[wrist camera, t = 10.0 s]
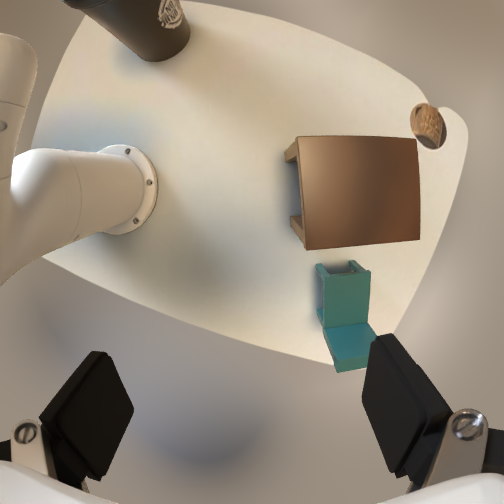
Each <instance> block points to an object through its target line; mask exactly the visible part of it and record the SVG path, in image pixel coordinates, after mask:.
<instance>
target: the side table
mask: <svg viewBox="0 0 504 504" xmlns="http://www.w3.org/2000/svg"><path fill="white" fill-rule="evenodd" d="M284 153H285V162H295V161H298V171H299V183H300V195H301V208H302V216H301V215H298V216H290V222H291V227H292V229H293V230H294V232H295V233H296V234H297V236H298V237H299V239H300V240H301V241H302V243H303V244H304V248H305V249H306V250H307V251H308V250H318V249H329V248H340V247H350V246H361V245H371V244H382V243H392V242H403V241H413V240H420V177H419V162H418V151H417V141H416V139H411V138H398V137H381V136H299V137H297V138H296V139H295V142H294V143H293V144H292V145H291V146H290V147H289V148H288V149H287V150H286V151H285V152H284Z"/></svg>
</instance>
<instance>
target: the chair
mask: <svg viewBox="0 0 504 504" xmlns="http://www.w3.org/2000/svg"><path fill="white" fill-rule="evenodd" d="M349 266H350V267H351V268H352V269H353V270H354V271H355V272H347V273H338V274H329V273H328V272H327V270H326V269H325V268H324V266H323V265H322V264H316V269H317V271H318V273H319V274H320V276H321V277H322V279H323V309H322V308H319V309H317V315H318V317H319V319H320V322H321V324H322V327H323V334H324V338H325V341H326V343H327V346H328V348H329V351H330V353H331V356H332V358H333V361H334V366H335V369H336V371H337V373H339V372H345V371H350V370H356V369H361V368H366V367H367V364H368V358H369V351H370V344H371V342H372V341H375V338H376V337H377V335H376V334H375V332H374V331H373V329H372V328H371V327H370V325H369V324H368V323H367V321H368V310H369V297H370V281H371V272H370V271H369V270H365V269H364V268H363V267H361V266H360V265H359V264H358V263H357V262H356V261H355V260H351V261H349Z"/></svg>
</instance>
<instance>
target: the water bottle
mask: <svg viewBox="0 0 504 504" xmlns="http://www.w3.org/2000/svg"><path fill="white" fill-rule="evenodd" d="M62 1H63V2H64V3H66V4H67V5H68V6H70V7H72V8H75V9H79V10H81V11H83V12H84V13H85V14H87V15H88V16H89V17H91V18H92V19H93V20H95V21H96V22H97V23H98V24H100V25H101V26H102V27H104V28H105V29H106V30H107V31H109V32H110V33H111V34H113V35H114V36H115V37H116V38H117V39H119V40H120V41H121V42H122V43H124V44H125V45H126V46H127V47H128V48H130V49H131V50H132V51H133V52H134V53H136V54H137V55H138V56H139V57H140V58H142V59H143V60H145V61H149V62H159V61H163V60H166V59H169V58H171V57H173V56H175V55H176V54H177V53H179V52H180V51H181V50H182V49H183V48H184V47H185V46H186V44H187V42H188V40H189V38H190V28H189V25H188V23H187V20H186V18H185V15H184V13H183V10H182V8H181V5H180V2H179V0H62Z"/></svg>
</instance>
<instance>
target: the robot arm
mask: <svg viewBox="0 0 504 504" xmlns="http://www.w3.org/2000/svg"><path fill="white" fill-rule="evenodd" d="M37 65H38V62H37V56H36V53H35V51H34V49H33V48H32V47H31V46H30V45H29V44H28V43H27V42H25V41H24V40H22V39H20V38H18V37H16V36H13V35H9V34H4V33H0V287H1V286H2V285H3V284H4V283H5V282H6V281H7V280H8V279H9V278H10V277H11V276H12V275H14V274H15V273H16V272H17V271H18V270H20V269H21V268H22V267H23V266H25V265H26V264H28V263H30V262H32V261H33V260H35V259H37V258H39V257H41V256H43V255H45V254H47V253H49V252H51V251H54V250H56V249H58V248H61V247H63V246H65V245H68V244H70V243H72V242H75V241H77V240H80V239H82V238H85V237H87V236H90V235H92V234H95V233H97V232H100V231H103V232H105V233H108V234H113V235H118V234H125V233H128V232H131V231H133V230H135V229H136V228H138V227H139V226H141V225H142V224H143V223H144V222H145V221H146V220H147V218H148V217H149V215H150V214H151V212H152V210H153V208H154V206H155V202H156V198H157V190H158V186H157V177H156V173H155V170H154V168H153V165H152V163H151V162H150V160H149V159H148V158H147V156H146V155H145V154H143V153H142V152H141V151H140V150H138V149H136V148H135V147H131V146H128V145H122V144H118V145H111V146H108V147H105V148H104V149H102V150H100V151H99V152H97V153H94V152H84V151H73V150H61V149H48V148H40V149H33V150H30V151H27V152H24V153H22V154H20V155H18V156H16V157H15V152H16V147H17V143H18V138H19V135H20V131H21V126H22V123H23V120H24V116H25V113H26V110H27V106H28V102H29V99H30V96H31V93H32V89H33V86H34V83H35V79H36V75H37ZM130 150H131V152H130V154H129V151H130ZM14 157H15V158H14ZM151 181H152V182H153V183H152V184H151V183H150V182H151ZM137 219H138V220H139V222H138V221H137ZM362 403H363V406H364V408H365V411H366V413H367V416H368V418H369V421H370V423H371V426H372V428H373V430H374V433H375V436H376V438H377V441H378V443H379V446H380V448H381V451H382V454H383V456H384V459H385V462H386V464H387V467H388V469H389V471H390V472H391V473H395V475H396V478H400V477H403V476H406V475H408V477H409V479H410V481H411V483H410V485H409V488H408V490H407V492H406V494H405V495H402V496H399V497H396V498H394V499H390V500H387V501H384V502H381V503H377V504H504V431H503V430H497V429H491V428H488V422H487V419H486V417H485V416H484V415H483V414H482V413H480V412H479V411H477V410H474V409H462V410H459V411H457V412H455V413H453V412H452V410H451V409H450V407H449V406H448V404H447V403H446V401H445V400H444V399H443V397H442V396H441V394H440V393H439V392H438V391H437V389H436V387H435V386H434V385H433V384H432V382H431V381H430V379H429V378H428V377H427V375H426V374H425V373H424V371H423V370H422V369H421V367H420V366H419V365H418V364H416V363H415V362H414V360H413V359H412V358H411V356H410V355H409V354H408V353H407V351H406V350H405V348H404V347H403V346H402V345H401V343H400V342H399V341H398V340H397V338H396V337H395V336H394V335H393V334H392V333H390V334H385V335H380V336H377V337H376V338H375V341H372V342H371V344H370V351H369V358H368V364H367V370H366V376H365V382H364V387H363V392H362ZM133 413H134V407H133V405H132V402H131V400H130V398H129V396H128V394H127V392H126V390H125V388H124V386H123V383H122V381H121V379H120V377H119V374H118V372H117V370H116V367H115V365H114V362H113V360H112V358H111V357H110V356H108V354H107V353H106V352H100V351H92V352H90V353H89V355H88V356H87V357H86V358H85V359H84V361H83V362H82V363H81V364H80V365H79V367H78V368H77V369H76V370H75V371H74V373H73V374H72V375H71V376H70V378H69V379H68V380H67V381H66V383H65V384H64V385H63V386H62V388H61V389H60V390H59V392H58V393H57V394H56V395H55V397H54V398H53V399H52V400H51V402H50V403H49V404H48V406H47V407H46V408H45V410H44V411H43V412H42V414H41V415H40V416H39V419H40V420H41V422H42V425H41V426H40V425H39V424H38V422H36V421H34V420H31V419H27V420H23V421H21V422H19V423H18V424H16V425H15V427H14V428H13V430H12V432H11V439H10V440H7V441H3V442H0V504H119V503H116V502H112V501H109V500H106V499H103V498H100V497H97V496H94V495H92V494H90V493H89V490H88V488H87V485H86V482H85V477H86V476H87V477H88V478H91V479H93V480H97V481H101V478H102V476H104V475H106V473H107V471H108V469H109V466H110V464H111V462H112V459H113V457H114V455H115V452H116V450H117V448H118V446H119V443H120V442H121V439H122V437H123V435H124V433H125V431H126V428H127V426H128V424H129V422H130V420H131V417H132V415H133Z"/></svg>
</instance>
